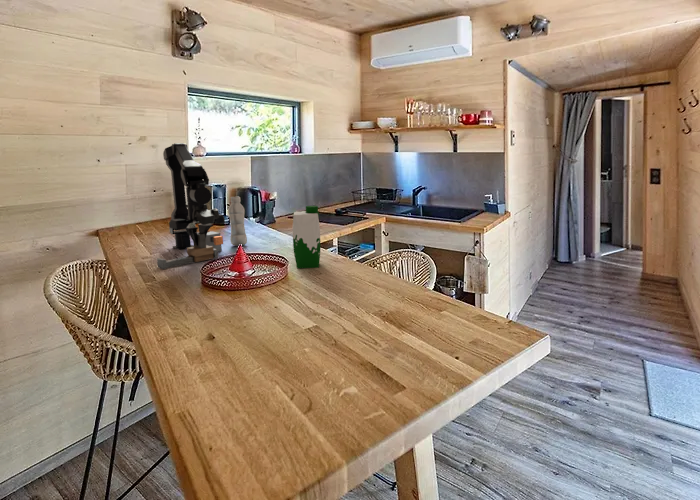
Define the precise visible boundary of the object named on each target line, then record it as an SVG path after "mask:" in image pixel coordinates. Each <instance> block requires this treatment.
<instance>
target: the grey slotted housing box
mask: <svg viewBox="0 0 700 500" xmlns="http://www.w3.org/2000/svg"><path fill="white" fill-rule="evenodd" d="M217 236H222V235H221V233H220V232H218V231H208V232H207V235H206V245H208V246H212V247H213V249H217V252H222V251H223V249H222V244H221V245H214V242H212V241H211V239H210V237H217Z"/></svg>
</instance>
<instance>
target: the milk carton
mask: <svg viewBox="0 0 700 500" xmlns="http://www.w3.org/2000/svg"><path fill="white" fill-rule="evenodd" d="M319 216H320V213H319V206H318V205H307V206H305V210H303V211H302V210H301V211H294V212H293V218H292V219H293V220H292V247H293V254H294V261H295V264H296V268H297V269H317V268H318V269H319V268H320V260H321V246H322V245H321V225H320V221H319V218H320V217H319Z"/></svg>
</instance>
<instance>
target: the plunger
mask: <svg viewBox="0 0 700 500" xmlns="http://www.w3.org/2000/svg"><path fill="white" fill-rule="evenodd" d="M210 239H211V241H212V242H214V245H221V246H222V245H223V244H224V238H223V235H221V236H217V237H210Z"/></svg>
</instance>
